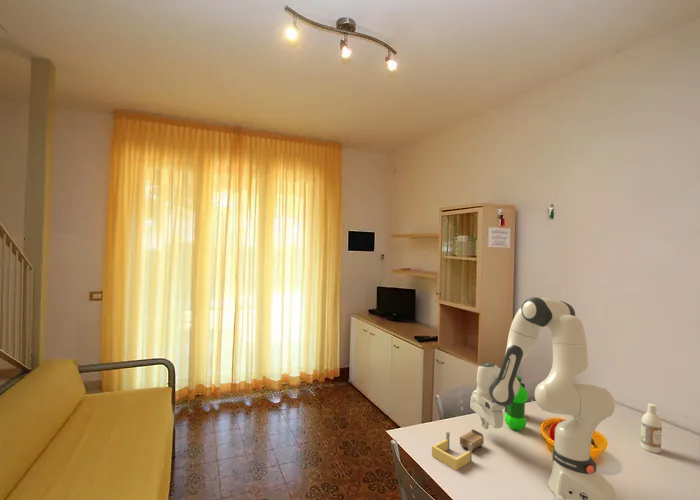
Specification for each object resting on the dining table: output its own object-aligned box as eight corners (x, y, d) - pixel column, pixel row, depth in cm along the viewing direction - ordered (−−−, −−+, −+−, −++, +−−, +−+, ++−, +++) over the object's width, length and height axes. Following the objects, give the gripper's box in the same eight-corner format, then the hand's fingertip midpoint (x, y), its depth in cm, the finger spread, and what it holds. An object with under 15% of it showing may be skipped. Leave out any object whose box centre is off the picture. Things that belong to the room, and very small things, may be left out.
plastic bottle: (530, 433, 169) (532, 381, 169) (508, 432, 169) (510, 380, 169) (521, 422, 179) (522, 373, 179) (500, 422, 179) (501, 373, 179)
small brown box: (483, 446, 156) (483, 434, 156) (471, 453, 151) (472, 440, 151) (471, 440, 161) (471, 428, 161) (459, 446, 156) (460, 434, 156)
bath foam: (650, 453, 155) (651, 408, 154) (636, 444, 161) (637, 401, 161) (665, 453, 155) (666, 408, 155) (651, 444, 162) (652, 401, 162)
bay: (471, 460, 145) (472, 443, 145) (456, 470, 139) (456, 452, 139) (447, 447, 155) (447, 431, 155) (431, 455, 148) (432, 439, 148)
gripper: (467, 389, 172) (466, 417, 173) (493, 408, 152) (492, 440, 153) (478, 388, 174) (477, 415, 174) (506, 407, 154) (505, 438, 154)
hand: (484, 427), depth 163 cm, fingers closed
